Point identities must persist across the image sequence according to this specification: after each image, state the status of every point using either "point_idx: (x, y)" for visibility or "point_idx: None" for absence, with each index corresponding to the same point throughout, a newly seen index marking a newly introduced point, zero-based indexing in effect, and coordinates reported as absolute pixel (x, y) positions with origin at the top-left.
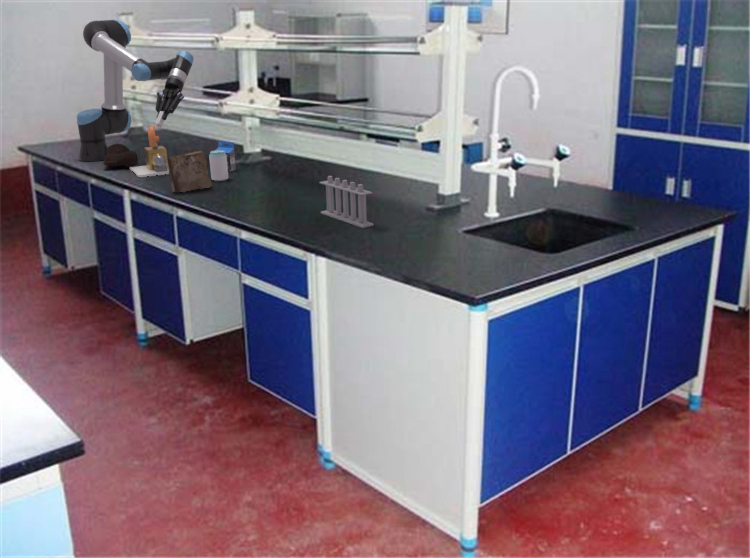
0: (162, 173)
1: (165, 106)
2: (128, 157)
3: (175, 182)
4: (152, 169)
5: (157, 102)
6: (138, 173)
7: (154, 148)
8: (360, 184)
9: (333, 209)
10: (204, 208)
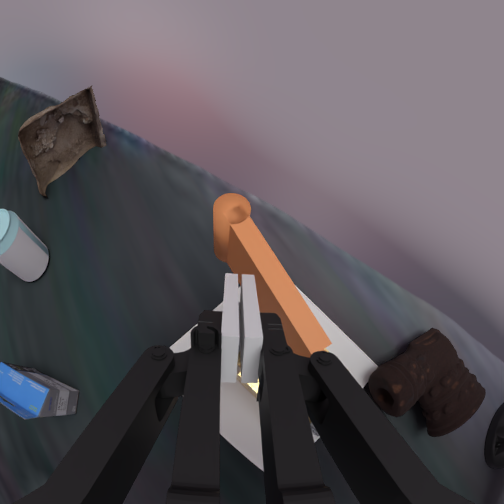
0: (215, 309)
1: (264, 444)
2: (392, 362)
3: (92, 127)
4: None
5: (371, 419)
6: None
7: None
8: None
9: None
10: (50, 100)
